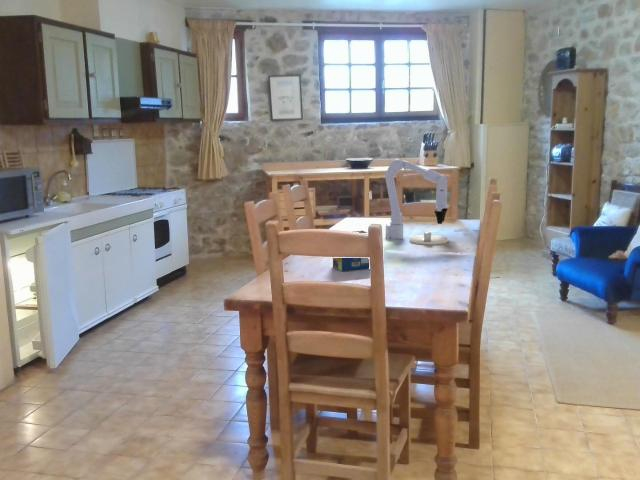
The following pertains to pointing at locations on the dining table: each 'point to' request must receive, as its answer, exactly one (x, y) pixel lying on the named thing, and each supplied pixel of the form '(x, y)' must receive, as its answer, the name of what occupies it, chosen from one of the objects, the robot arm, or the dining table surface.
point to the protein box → (351, 262)
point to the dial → (428, 239)
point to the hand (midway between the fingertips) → (440, 222)
